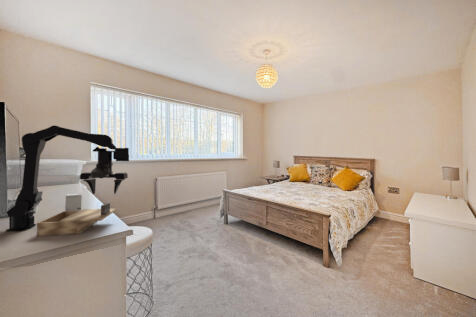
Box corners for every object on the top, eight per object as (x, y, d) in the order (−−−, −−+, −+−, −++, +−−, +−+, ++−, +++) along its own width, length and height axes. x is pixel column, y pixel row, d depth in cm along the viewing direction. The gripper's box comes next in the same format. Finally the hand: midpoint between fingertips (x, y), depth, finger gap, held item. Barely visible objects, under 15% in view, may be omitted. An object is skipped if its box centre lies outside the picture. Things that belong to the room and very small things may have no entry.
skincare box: (64, 221, 95) (64, 195, 95) (66, 219, 99) (66, 194, 98) (81, 219, 98) (81, 194, 98) (82, 217, 102) (82, 192, 102)
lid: (59, 222, 80) (60, 210, 80) (82, 210, 96) (83, 200, 96) (101, 220, 82) (101, 209, 82) (116, 209, 99) (117, 200, 98)
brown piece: (36, 236, 78) (36, 223, 78) (63, 222, 94) (63, 211, 94) (78, 234, 81) (78, 221, 81) (97, 221, 97) (97, 210, 97)
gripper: (72, 161, 89) (72, 197, 89) (120, 162, 93) (119, 196, 93) (86, 160, 100) (86, 192, 100) (128, 161, 104) (127, 192, 104)
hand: (104, 193), depth 99 cm, fingers open, 9 cm apart
